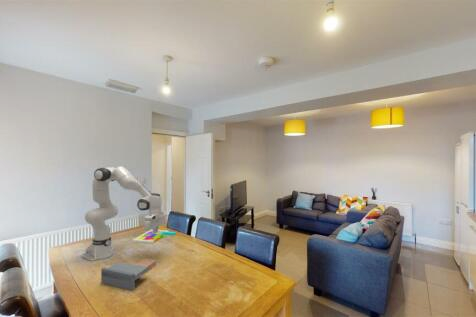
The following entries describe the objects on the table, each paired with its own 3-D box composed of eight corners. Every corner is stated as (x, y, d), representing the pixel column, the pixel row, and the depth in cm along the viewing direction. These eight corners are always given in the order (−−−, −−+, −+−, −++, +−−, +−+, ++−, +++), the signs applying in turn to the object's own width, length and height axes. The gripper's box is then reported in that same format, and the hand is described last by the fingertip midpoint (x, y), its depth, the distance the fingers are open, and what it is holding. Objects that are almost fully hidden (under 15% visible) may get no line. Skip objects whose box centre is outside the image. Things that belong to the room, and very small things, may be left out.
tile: (130, 273, 145) (130, 267, 145) (144, 263, 159) (144, 258, 159) (143, 275, 143) (143, 269, 143) (156, 265, 156) (156, 260, 156)
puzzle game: (131, 243, 197) (161, 245, 191) (131, 240, 197) (161, 242, 191) (151, 232, 227) (177, 234, 221) (151, 229, 227) (177, 231, 221)
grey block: (101, 283, 133) (101, 268, 133) (118, 272, 145) (118, 259, 145) (132, 290, 125) (132, 275, 125) (147, 278, 138) (147, 264, 138)
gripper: (160, 211, 174) (160, 228, 174) (142, 217, 154) (142, 236, 154) (167, 211, 172) (167, 228, 172) (149, 218, 152) (149, 237, 152)
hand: (155, 232), depth 163 cm, fingers closed
